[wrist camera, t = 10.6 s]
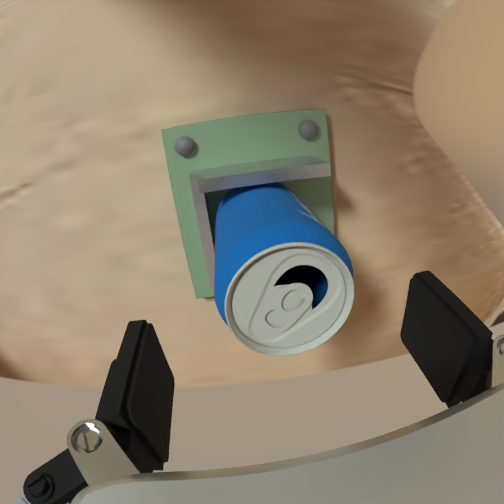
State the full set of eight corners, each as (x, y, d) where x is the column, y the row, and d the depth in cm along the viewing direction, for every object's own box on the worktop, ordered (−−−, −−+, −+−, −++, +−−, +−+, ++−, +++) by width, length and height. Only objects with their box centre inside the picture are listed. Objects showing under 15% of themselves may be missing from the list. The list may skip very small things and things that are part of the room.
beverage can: (316, 208, 24) (389, 285, 13) (266, 271, 26) (298, 378, 15) (249, 158, 22) (280, 199, 11) (199, 228, 24) (184, 324, 13)
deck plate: (163, 129, 22) (160, 129, 20) (321, 109, 22) (327, 108, 21) (197, 292, 27) (196, 301, 26) (331, 271, 28) (336, 279, 26)
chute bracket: (191, 171, 22) (184, 182, 18) (310, 155, 22) (329, 163, 18) (212, 281, 26) (211, 311, 22) (317, 264, 26) (334, 292, 22)
